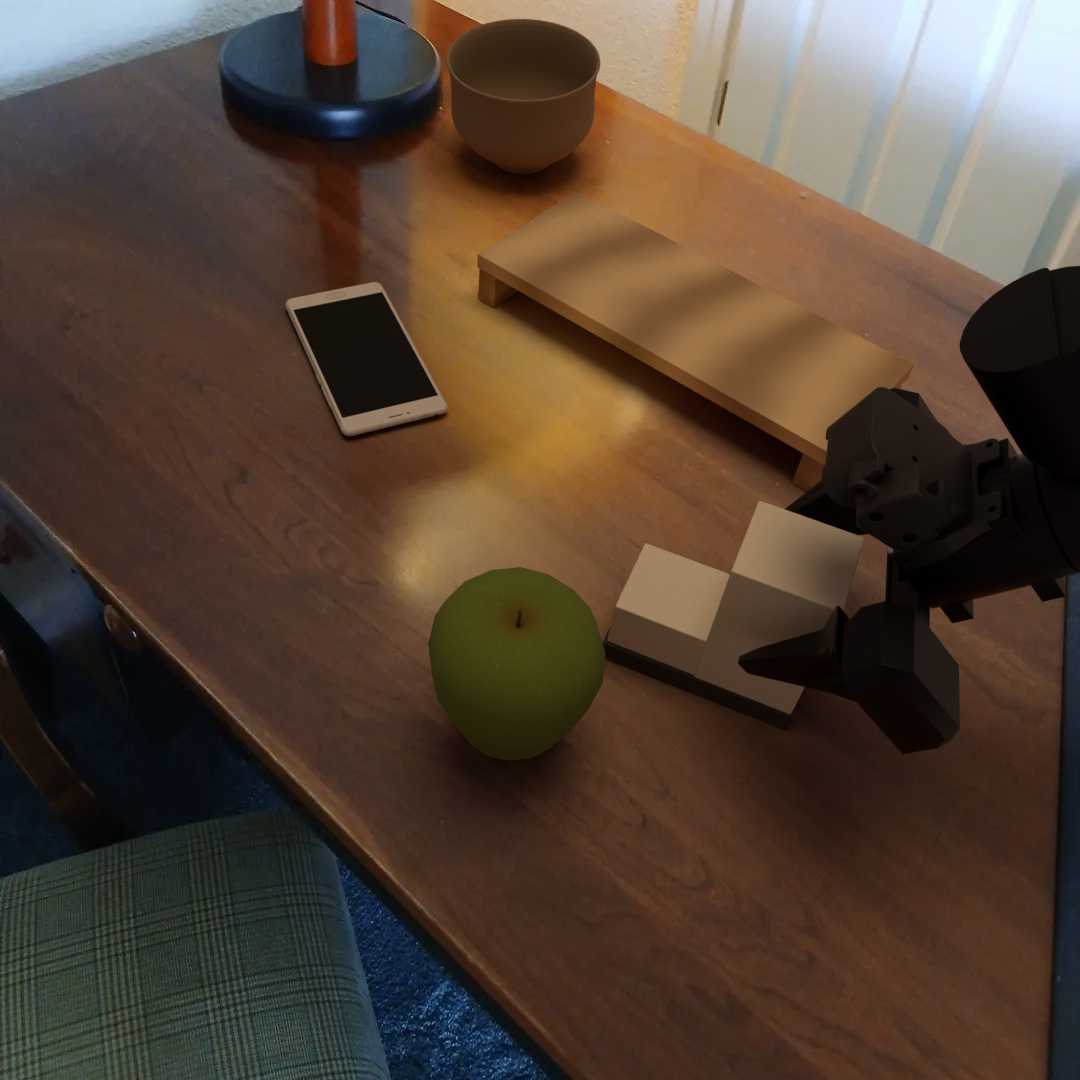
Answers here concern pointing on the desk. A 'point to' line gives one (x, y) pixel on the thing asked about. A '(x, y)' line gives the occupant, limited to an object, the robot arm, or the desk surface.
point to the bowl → (523, 91)
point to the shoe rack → (692, 322)
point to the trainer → (734, 610)
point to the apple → (515, 661)
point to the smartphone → (364, 359)
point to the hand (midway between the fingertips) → (752, 598)
